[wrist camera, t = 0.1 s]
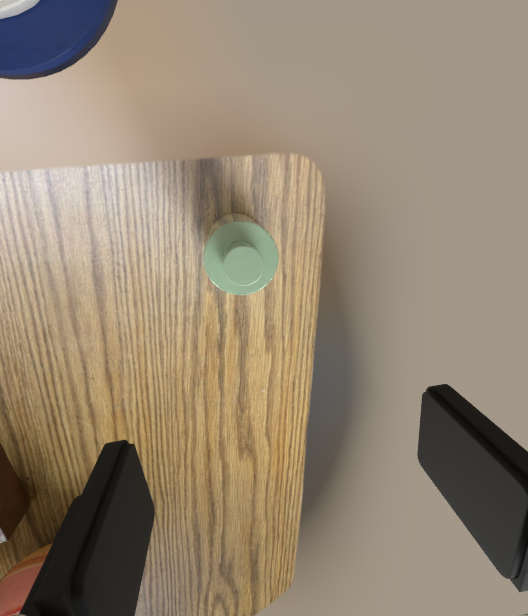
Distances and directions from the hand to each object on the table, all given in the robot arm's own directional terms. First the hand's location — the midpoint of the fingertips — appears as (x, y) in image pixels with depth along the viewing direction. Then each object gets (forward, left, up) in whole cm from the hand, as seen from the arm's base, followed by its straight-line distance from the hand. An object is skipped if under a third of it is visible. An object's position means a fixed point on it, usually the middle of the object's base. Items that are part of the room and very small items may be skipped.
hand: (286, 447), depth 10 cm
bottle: (-4, 0, -20) cm, 21 cm away
